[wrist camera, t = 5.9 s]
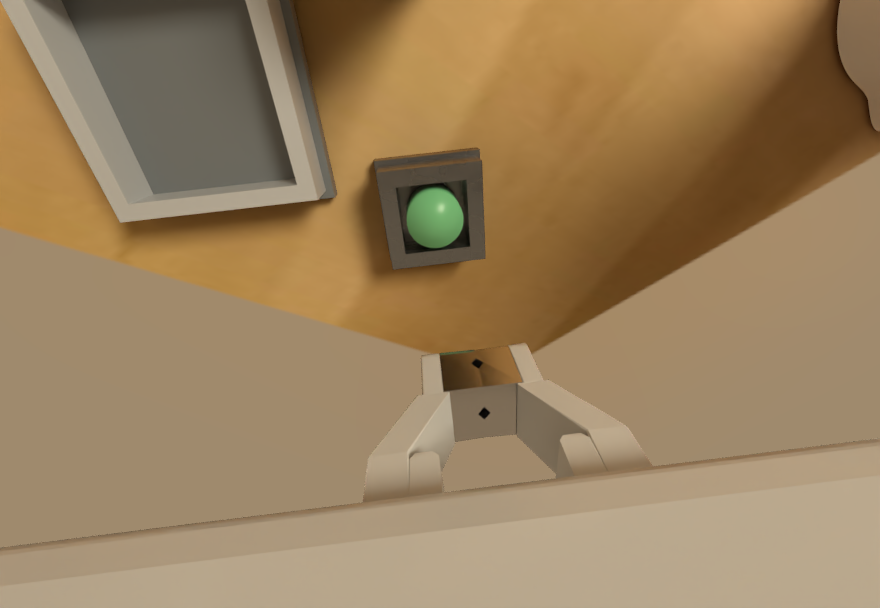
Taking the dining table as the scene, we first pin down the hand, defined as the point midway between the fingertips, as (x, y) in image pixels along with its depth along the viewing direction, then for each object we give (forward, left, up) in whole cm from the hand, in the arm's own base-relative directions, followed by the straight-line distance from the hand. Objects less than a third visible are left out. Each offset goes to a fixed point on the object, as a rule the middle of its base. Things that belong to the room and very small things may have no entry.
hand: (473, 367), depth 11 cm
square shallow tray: (+13, -8, -19) cm, 24 cm away
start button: (0, 0, -17) cm, 17 cm away
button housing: (0, 0, -19) cm, 19 cm away
